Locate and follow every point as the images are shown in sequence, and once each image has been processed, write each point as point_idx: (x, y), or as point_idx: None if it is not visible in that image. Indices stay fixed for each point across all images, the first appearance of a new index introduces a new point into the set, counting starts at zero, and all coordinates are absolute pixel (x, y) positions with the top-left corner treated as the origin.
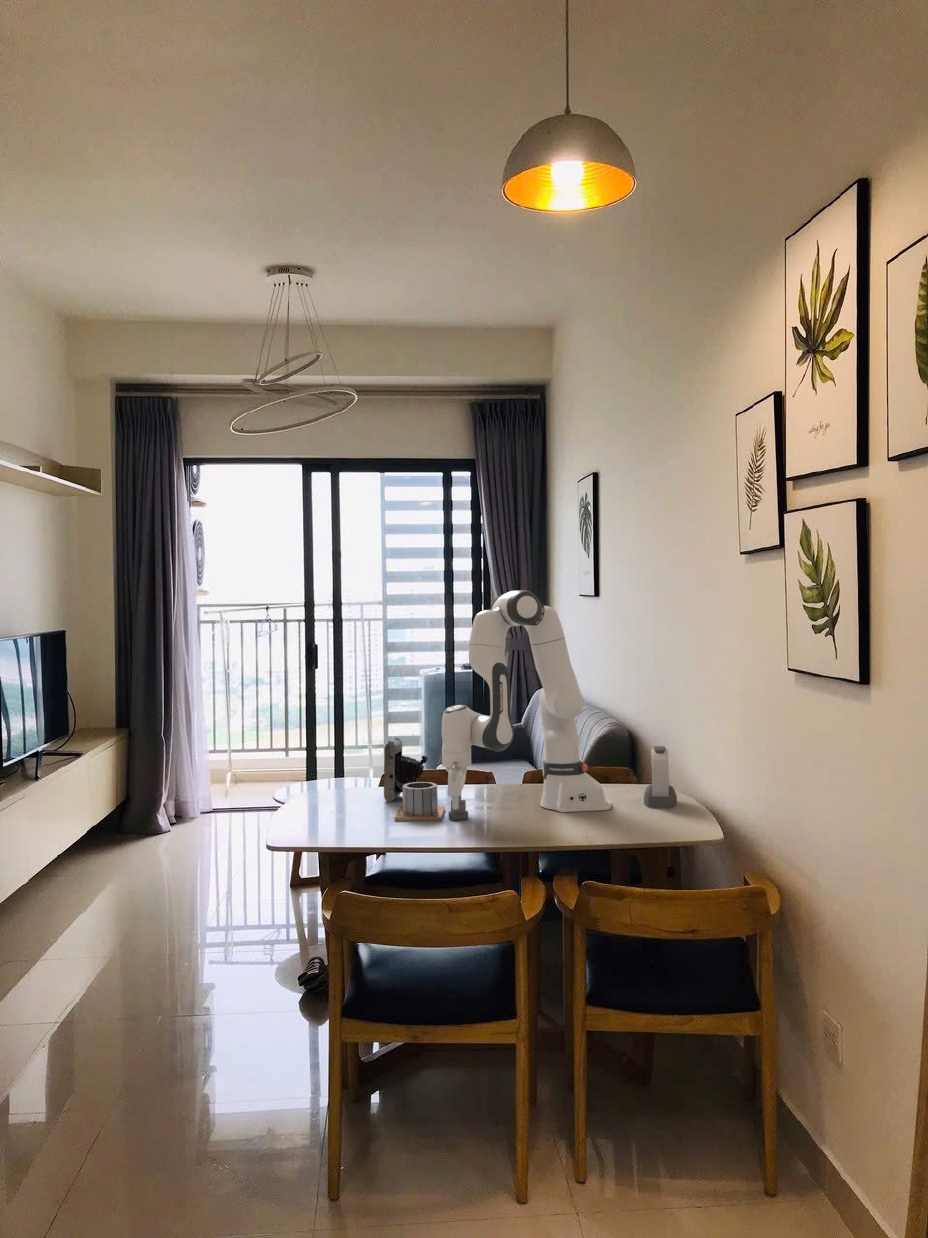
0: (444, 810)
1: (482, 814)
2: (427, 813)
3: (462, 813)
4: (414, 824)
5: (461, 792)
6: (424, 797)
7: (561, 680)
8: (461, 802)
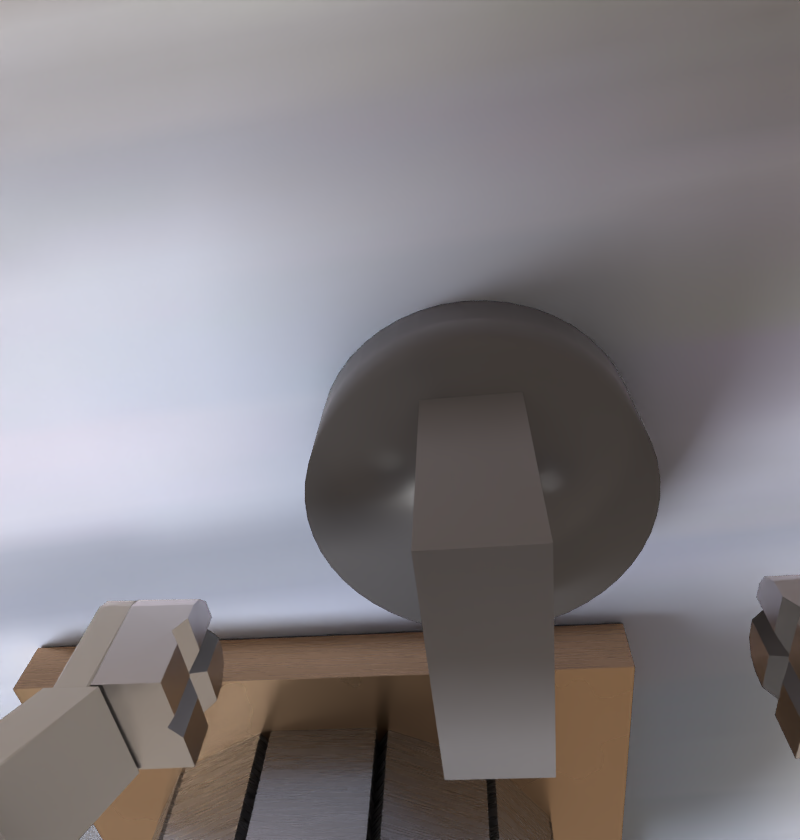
0: None
1: (114, 82)
2: (524, 809)
3: (578, 436)
4: (752, 811)
5: (19, 747)
6: None
7: None
8: (549, 596)
